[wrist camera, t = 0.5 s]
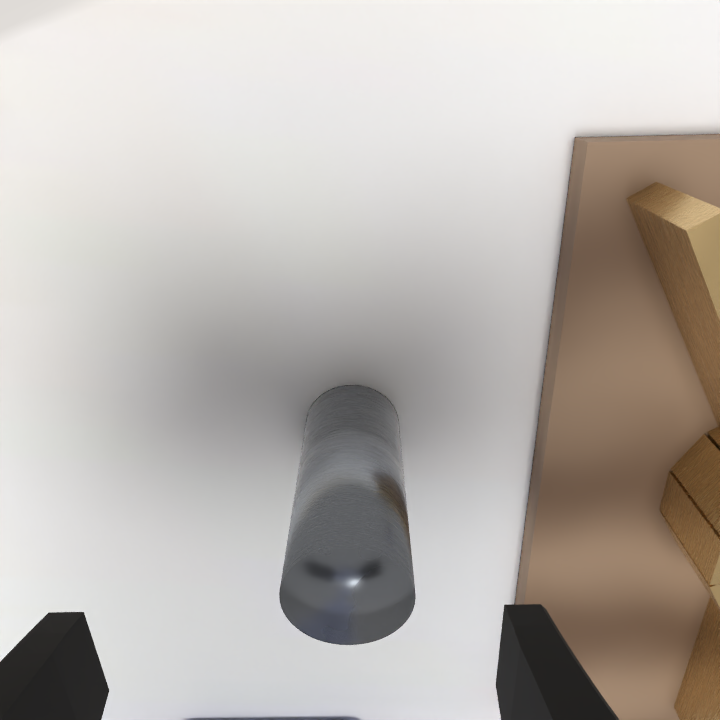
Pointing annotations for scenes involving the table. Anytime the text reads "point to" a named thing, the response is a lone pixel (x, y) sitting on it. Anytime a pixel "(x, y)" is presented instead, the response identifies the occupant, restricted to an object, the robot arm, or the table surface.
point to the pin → (349, 523)
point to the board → (617, 433)
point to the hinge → (716, 374)
